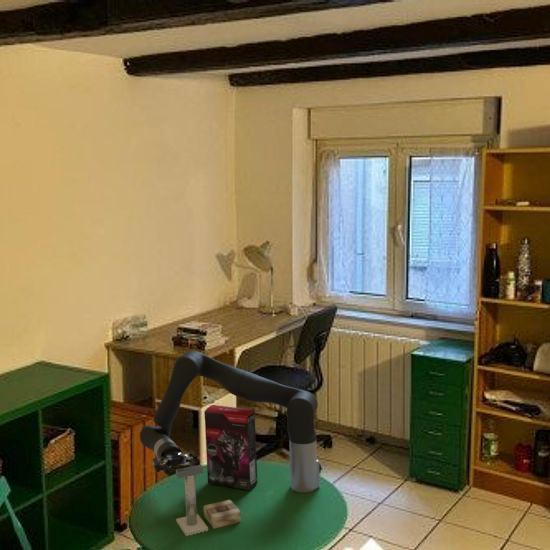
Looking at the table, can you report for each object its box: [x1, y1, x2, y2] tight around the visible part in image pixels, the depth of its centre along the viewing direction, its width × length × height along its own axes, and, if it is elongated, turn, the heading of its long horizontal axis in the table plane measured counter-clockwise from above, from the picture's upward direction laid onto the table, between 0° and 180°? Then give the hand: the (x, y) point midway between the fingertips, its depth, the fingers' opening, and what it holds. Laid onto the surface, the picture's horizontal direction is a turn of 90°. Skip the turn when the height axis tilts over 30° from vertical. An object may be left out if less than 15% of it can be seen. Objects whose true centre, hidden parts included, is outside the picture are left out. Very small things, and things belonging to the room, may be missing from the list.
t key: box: [175, 464, 204, 526], centre depth 221 cm, size 8×3×18 cm, turn 115°
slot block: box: [203, 499, 242, 529], centre depth 226 cm, size 9×9×4 cm
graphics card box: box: [204, 404, 258, 491], centre depth 249 cm, size 17×7×27 cm, turn 68°
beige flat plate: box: [175, 513, 209, 537], centre depth 222 cm, size 7×10×1 cm
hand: (181, 469), depth 230 cm, fingers open, 8 cm apart
